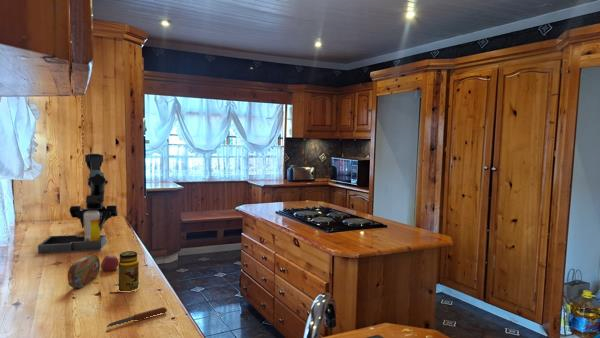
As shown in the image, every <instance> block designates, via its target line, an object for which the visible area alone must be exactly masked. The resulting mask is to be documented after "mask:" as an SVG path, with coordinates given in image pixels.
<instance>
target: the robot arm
mask: <svg viewBox="0 0 600 338" xmlns="http://www.w3.org/2000/svg"><path fill="white" fill-rule="evenodd" d="M84 163H85V164H86V167H87V169H88V171H89V175H88V177H87V186H89V188H90V194H89V195H86V196H85V203H86V204H85V205H86V207H85V208H83V207H82V205H72V206H70V207H69V209H68V210H69V211H68V212H69V214H70V216H71V218H74V219H75V218H77V219H78V220H79V221H80V224H81V229H84V214H85V212H86V211H93V210H95V211H99V213H100V230H102V229H103V228H104V224H105V223H106V222H107V221H108V220H109V219H111V218H112V217H113V218H114V217H118V213H119V212H118V211H119V210H118V207H117V205H116V204H111V205H108V204H107V205H106V206H105V205H104V202H105V192H106V191H105V187H106V185H107V184H108V183H109V182H108V179H107V177H105V173H103V171H102V170H101V169H102V165H103V163H104V155H103V154H101V153H87V154H85V155H84Z"/></svg>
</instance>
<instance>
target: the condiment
mask: <svg viewBox="0 0 600 338" xmlns="http://www.w3.org/2000/svg"><path fill="white" fill-rule="evenodd" d="M119 258H120V259H119V260H118V262H119V263H118V267H117V268H118V283H115V284H114V285H115V286H117V285H118V286H119V290H120V291H132V290H135V289H137V288H138V285H139V283H140V285H142V282H139V276H140V274H139V272H140V270H139V268H140V267H139V260H138V252H136V251H134V250H128V251H123V252H120V254H119Z"/></svg>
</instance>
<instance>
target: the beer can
mask: <svg viewBox="0 0 600 338" xmlns="http://www.w3.org/2000/svg"><path fill="white" fill-rule="evenodd" d="M83 232H84V233H83V236H84V241H99V240H100V235H101V229H100V213H99V211H95V210H93V211H86V212H85V213H84V228H83Z"/></svg>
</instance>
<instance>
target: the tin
mask: <svg viewBox="0 0 600 338" xmlns="http://www.w3.org/2000/svg"><path fill="white" fill-rule="evenodd" d="M100 266H101V263H100V259H99V257H98V255H96V254H92V255H91V254H90V255H86V256H84V257H82V258H80V259H79V260H77V261H75V262H73V263H72V264H71V265H70V267H69V269H68V270H67V281H68V285H69V286H70V287H71V288H72V289H73V288H78V289H81V288H84V287H85V286H86V285H88V284H89V283H91V282H92V281H93V280H95V279H97V277H98V275H99V272H100V269H101V267H100ZM83 286H84V287H83Z"/></svg>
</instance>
